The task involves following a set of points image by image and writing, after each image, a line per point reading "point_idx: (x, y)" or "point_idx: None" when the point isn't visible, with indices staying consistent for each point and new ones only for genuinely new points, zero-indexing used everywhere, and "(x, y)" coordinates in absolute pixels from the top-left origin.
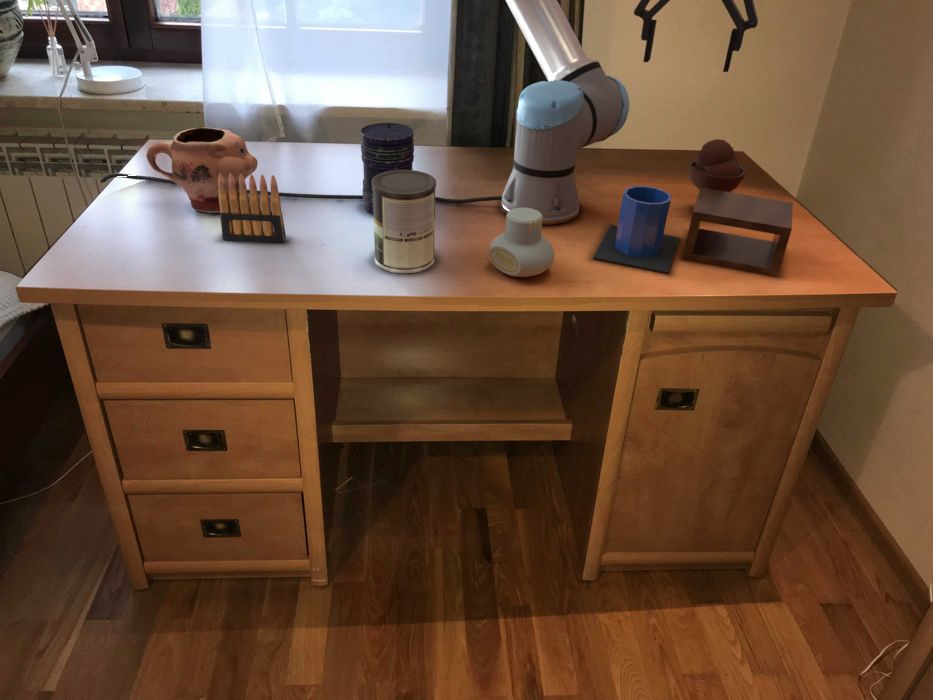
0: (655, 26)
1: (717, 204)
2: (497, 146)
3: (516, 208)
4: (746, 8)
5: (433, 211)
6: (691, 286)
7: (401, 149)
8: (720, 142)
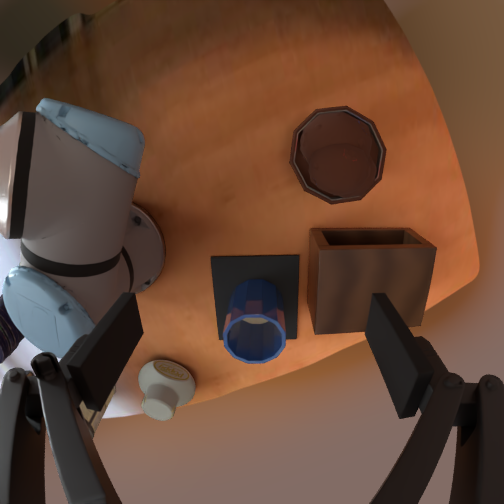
0: (92, 356)
1: (345, 301)
2: (19, 80)
3: (144, 404)
4: (456, 473)
5: (97, 413)
6: (319, 348)
7: (9, 351)
8: (348, 178)
